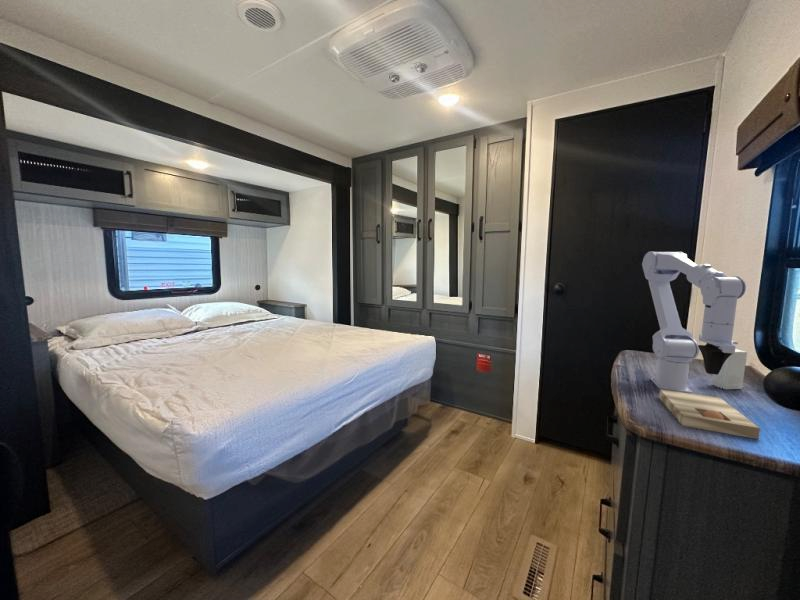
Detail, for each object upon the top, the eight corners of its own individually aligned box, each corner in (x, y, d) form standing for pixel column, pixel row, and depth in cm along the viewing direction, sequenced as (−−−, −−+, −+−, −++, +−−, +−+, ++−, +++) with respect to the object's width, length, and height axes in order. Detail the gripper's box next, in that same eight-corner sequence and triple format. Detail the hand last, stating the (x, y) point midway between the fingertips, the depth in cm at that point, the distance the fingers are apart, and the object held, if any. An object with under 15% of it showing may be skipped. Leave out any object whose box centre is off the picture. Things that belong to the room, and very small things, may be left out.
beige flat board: (658, 397, 91) (659, 389, 91) (719, 406, 86) (720, 397, 85) (682, 425, 75) (683, 415, 75) (758, 439, 69) (760, 428, 69)
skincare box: (727, 384, 102) (731, 347, 101) (743, 389, 98) (748, 351, 97) (710, 384, 102) (714, 348, 100) (725, 390, 97) (730, 351, 96)
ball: (706, 409, 75) (706, 425, 74) (726, 412, 73) (727, 428, 72) (699, 408, 78) (699, 423, 77) (719, 411, 76) (719, 427, 76)
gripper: (755, 329, 74) (747, 385, 76) (724, 320, 87) (718, 367, 89) (715, 326, 77) (709, 380, 79) (691, 317, 90) (686, 364, 92)
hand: (711, 373), depth 84 cm, fingers closed
